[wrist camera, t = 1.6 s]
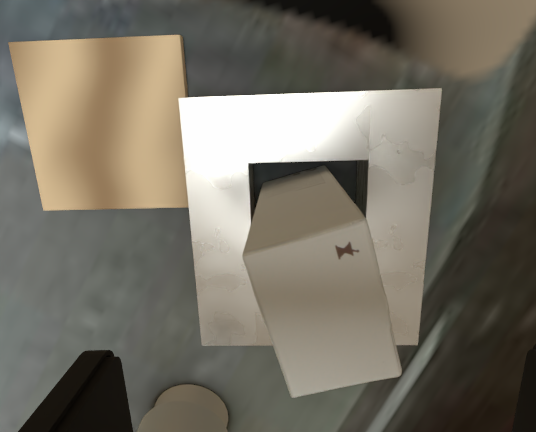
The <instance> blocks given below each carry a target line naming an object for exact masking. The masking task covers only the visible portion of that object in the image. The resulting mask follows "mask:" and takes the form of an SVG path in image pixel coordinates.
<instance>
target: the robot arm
mask: <svg viewBox="0 0 536 432" xmlns="http://www.w3.org/2000/svg"><path fill="white" fill-rule="evenodd" d="M18 432H133V428H132V422H131V416H130V410H129V405H128V399H127V393H126V387H125V381H124V375H123V369H122V363H121V359H120V358H119V357H114V354H113V352H112V351H110V350H95V351H84V352H83V353H82V354H81V355H80V356H79V357H78V358H77V360H76V361H75V362H74V363H73V365H72V366H71V367H70V368H69V369H68V371H67V372H66V373H65V374H64V376H63V377H62V378H61V379H60V381H59V382H58V383H57V384H56V386H55V387H54V388H53V389H52V390H51V392H50V393H49V394H48V395H47V397H46V398H45V399H44V400H43V402H42V403H41V404H40V405H39V406H38V408H37V409H36V410H35V411H34V413H33V414H32V415H31V416H30V418H29V419H28V420H27V421H26V423H25V424H24V425H23V426H22V427H21V429H20V430H19V431H18ZM512 432H536V344H535V345H534V347H533V349H532V350H529V351H528V353H527V356H526V361H525V367H524V372H523V377H522V382H521V387H520V392H519V398H518V403H517V408H516V413H515V418H514V424H513V429H512Z"/></svg>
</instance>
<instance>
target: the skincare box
mask: <svg viewBox="0 0 536 432" xmlns="http://www.w3.org/2000/svg"><path fill="white" fill-rule="evenodd" d="M242 257H243V261H244V264H245V267H246V270H247V273H248V276H249V279H250V282H251V285H252V288H253V291H254V294H255V297H256V300H257V303H258V306H259V309H260V312H261V314H262V317H263V320H264V322H265V325H266V328H267V330H268V333H269V336H270V338H271V341H272V344H273V346H274V349H275V352H276V355H277V358H278V361H279V364H280V367H281V369H282V372H283V375H284V378H285V381H286V383H287V386H288V389H289V392H290V395H291V397H293V398H295V397H299V396H303V395H308V394H313V393H318V392H323V391H327V390H332V389H336V388H341V387H346V386H351V385H356V384H361V383H366V382H371V381H377V380H382V379H388V378H394V377H399V376H400V375H401V372H402V369H401V365H400V361H399V356H398V352H397V348H396V343H395V339H394V334H393V329H392V325H391V320H390V312H389V306H388V301H387V297H386V294H385V291H384V287H383V283H382V278H381V274H380V270H379V266H378V262H377V258H376V253H375V249H374V245H373V241H372V237H371V233H370V229H369V225H368V221H367V219H366V218H365V217H364V215H363V214H362V212H361V211H360V209H359V208H358V207H357V206H356V205H355V203H354V202H353V201H352V200H351V198H350V197H349V196H348V194H347V193H346V192H345V190H344V189H343V188H342V187H341V186H340V184H339V183H338V182H337V180H336V179H335V178H334V176H333V175H332V174H331V172H330V171H329V170H328V169H327V167H326V166H325V165H323V166H319V167H316V168H312V169H309V170H305V171H301V172H298V173H295V174H291V175H288V176H285V177H281V178H278V179H275V180H271V181H267V182H264V183H263V184H262V188H261V191H260V195H259V199H258V202H257V205H256V208H255V212H254V216H253V220H252V223H251V227H250V230H249V233H248V237H247V241H246V244H245V248H244V251H243V255H242Z"/></svg>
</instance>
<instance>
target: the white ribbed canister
mask: <svg viewBox="0 0 536 432" xmlns="http://www.w3.org/2000/svg"><path fill="white" fill-rule="evenodd" d="M227 423H228V411H227V409H226V406H225V404H224V402H223V401H222V400H221V399H220V398H219V396H217V395H216V394H215V393H213V392H212V391H211V390H209V389H206V388H204V387H202V386H197V385H192V384H187V385H178V386H174V387H171V388H170V389H168V390H166V391H164V392H163V393H162V394H161V395H160V396H159V397H158V399H157V401H156V403H155V407H154V408H152V409H151V410H150V411H149V412H148V413H147V414H146V415H145V416H144V417H143V419H142V421H141V423H140V425H139V427H138V430H137V432H228V430H227V428H226V427H227Z"/></svg>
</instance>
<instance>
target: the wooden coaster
mask: <svg viewBox="0 0 536 432" xmlns="http://www.w3.org/2000/svg"><path fill="white" fill-rule="evenodd" d="M8 43H9V48H10V53H11V58H12V62H13V67H14V72H15V77H16V82H17V86H18V91H19V96H20V101H21V105H22V110H23V115H24V120H25V125H26V129H27V134H28V139H29V144H30V148H31V153H32V158H33V163H34V168H35V172H36V177H37V182H38V187H39V191H40V196H41V201H42V206H43V210H86V209H133V208H179V207H189V205H188V194H187V184H186V173H185V162H184V152H183V141H182V131H181V120H180V110H179V99H178V98H188V91H187V80H186V69H185V57H184V46H183V37H182V36H181V35H163V36H140V37H118V38H96V39H73V40H51V41H28V42H8Z"/></svg>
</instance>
